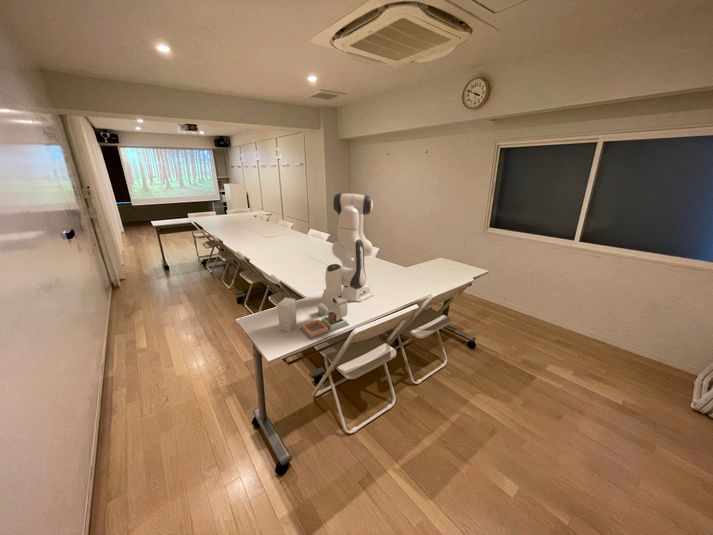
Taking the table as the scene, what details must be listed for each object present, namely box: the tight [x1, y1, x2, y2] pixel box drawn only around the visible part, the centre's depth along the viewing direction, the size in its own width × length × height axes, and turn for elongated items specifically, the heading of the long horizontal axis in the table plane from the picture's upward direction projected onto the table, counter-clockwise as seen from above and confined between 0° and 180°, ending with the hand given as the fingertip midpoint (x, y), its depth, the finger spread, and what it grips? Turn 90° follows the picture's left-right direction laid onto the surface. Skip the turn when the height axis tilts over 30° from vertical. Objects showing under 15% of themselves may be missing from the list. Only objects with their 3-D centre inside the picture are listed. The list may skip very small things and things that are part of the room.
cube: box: [327, 311, 340, 324], centre depth 150 cm, size 4×4×5 cm
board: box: [299, 315, 350, 340], centre depth 148 cm, size 24×12×3 cm, turn 127°
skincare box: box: [277, 297, 298, 332], centre depth 145 cm, size 8×7×16 cm
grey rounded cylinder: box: [317, 301, 329, 317], centre depth 161 cm, size 6×6×6 cm
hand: (334, 317), depth 150 cm, fingers open, 5 cm apart
